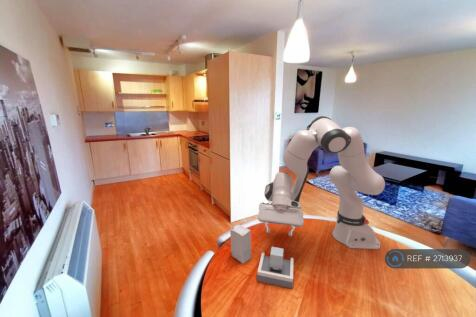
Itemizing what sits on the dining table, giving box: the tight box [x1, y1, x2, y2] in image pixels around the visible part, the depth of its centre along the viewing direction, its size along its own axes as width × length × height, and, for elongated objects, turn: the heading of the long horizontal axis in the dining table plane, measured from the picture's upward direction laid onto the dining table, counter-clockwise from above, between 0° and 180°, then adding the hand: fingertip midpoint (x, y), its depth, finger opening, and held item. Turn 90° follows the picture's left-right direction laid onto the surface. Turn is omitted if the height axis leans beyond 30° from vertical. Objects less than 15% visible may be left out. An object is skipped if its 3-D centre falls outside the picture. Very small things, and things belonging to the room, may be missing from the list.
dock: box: [256, 252, 294, 289], centre depth 90 cm, size 14×12×4 cm
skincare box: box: [229, 224, 252, 265], centre depth 99 cm, size 8×6×15 cm
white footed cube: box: [269, 246, 285, 272], centre depth 89 cm, size 5×6×8 cm
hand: (279, 234), depth 93 cm, fingers open, 8 cm apart
